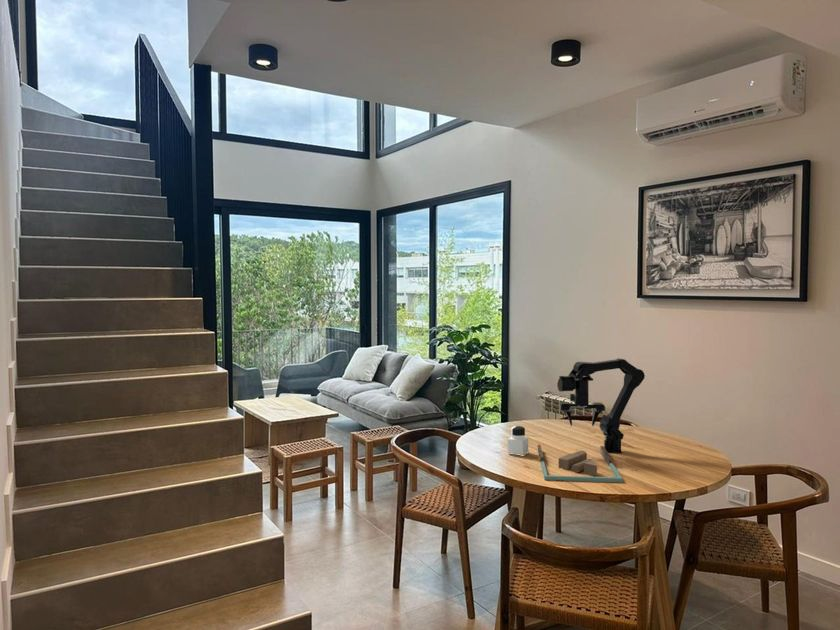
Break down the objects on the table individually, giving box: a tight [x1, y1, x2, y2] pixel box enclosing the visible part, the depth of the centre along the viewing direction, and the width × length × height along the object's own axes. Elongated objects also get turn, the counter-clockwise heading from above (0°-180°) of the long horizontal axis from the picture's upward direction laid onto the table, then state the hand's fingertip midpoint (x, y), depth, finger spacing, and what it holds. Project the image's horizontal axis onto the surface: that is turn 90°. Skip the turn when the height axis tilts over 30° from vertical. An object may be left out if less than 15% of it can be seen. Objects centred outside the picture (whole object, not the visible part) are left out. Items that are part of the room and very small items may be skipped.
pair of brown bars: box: [537, 444, 613, 466], centre depth 243 cm, size 28×20×3 cm
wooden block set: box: [558, 449, 598, 477], centre depth 230 cm, size 17×6×18 cm
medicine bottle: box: [507, 425, 529, 456], centre depth 251 cm, size 7×7×12 cm
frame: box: [540, 461, 623, 484], centre depth 223 cm, size 28×19×2 cm
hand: (581, 425), depth 251 cm, fingers open, 9 cm apart
